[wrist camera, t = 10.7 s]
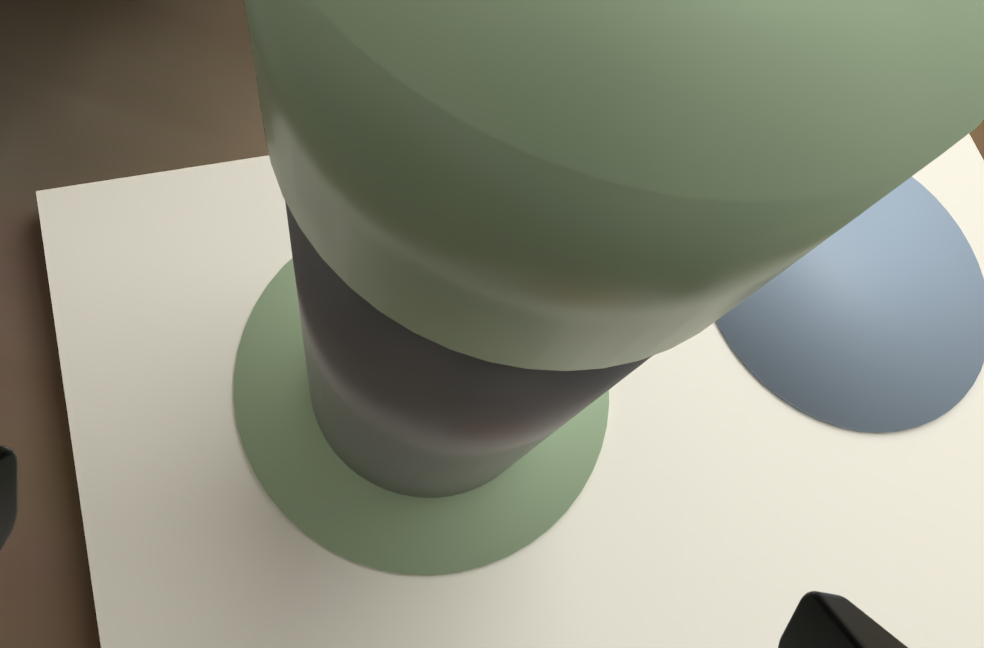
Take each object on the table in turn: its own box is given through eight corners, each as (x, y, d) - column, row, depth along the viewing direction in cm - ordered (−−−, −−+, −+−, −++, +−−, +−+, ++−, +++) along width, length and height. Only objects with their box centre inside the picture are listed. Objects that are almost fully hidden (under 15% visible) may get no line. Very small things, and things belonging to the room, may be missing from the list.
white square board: (1389, 975, 17) (1444, 994, 16) (279, 1776, 10) (274, 1879, 9) (907, 71, 23) (928, 52, 22) (49, 209, 17) (34, 188, 16)
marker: (595, 397, 17) (1170, -54, 5) (412, 558, 15) (674, 410, 3) (445, 225, 17) (655, -507, 6) (252, 357, 16) (13, -334, 4)
